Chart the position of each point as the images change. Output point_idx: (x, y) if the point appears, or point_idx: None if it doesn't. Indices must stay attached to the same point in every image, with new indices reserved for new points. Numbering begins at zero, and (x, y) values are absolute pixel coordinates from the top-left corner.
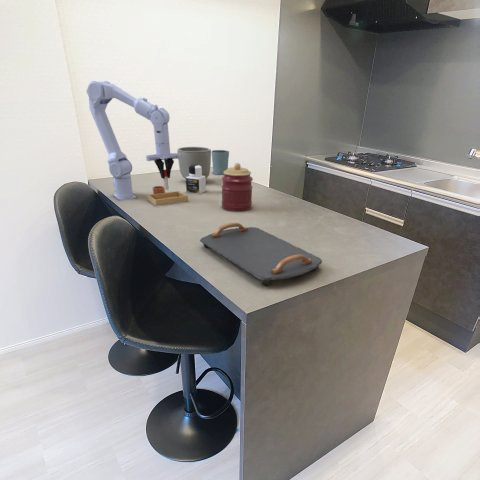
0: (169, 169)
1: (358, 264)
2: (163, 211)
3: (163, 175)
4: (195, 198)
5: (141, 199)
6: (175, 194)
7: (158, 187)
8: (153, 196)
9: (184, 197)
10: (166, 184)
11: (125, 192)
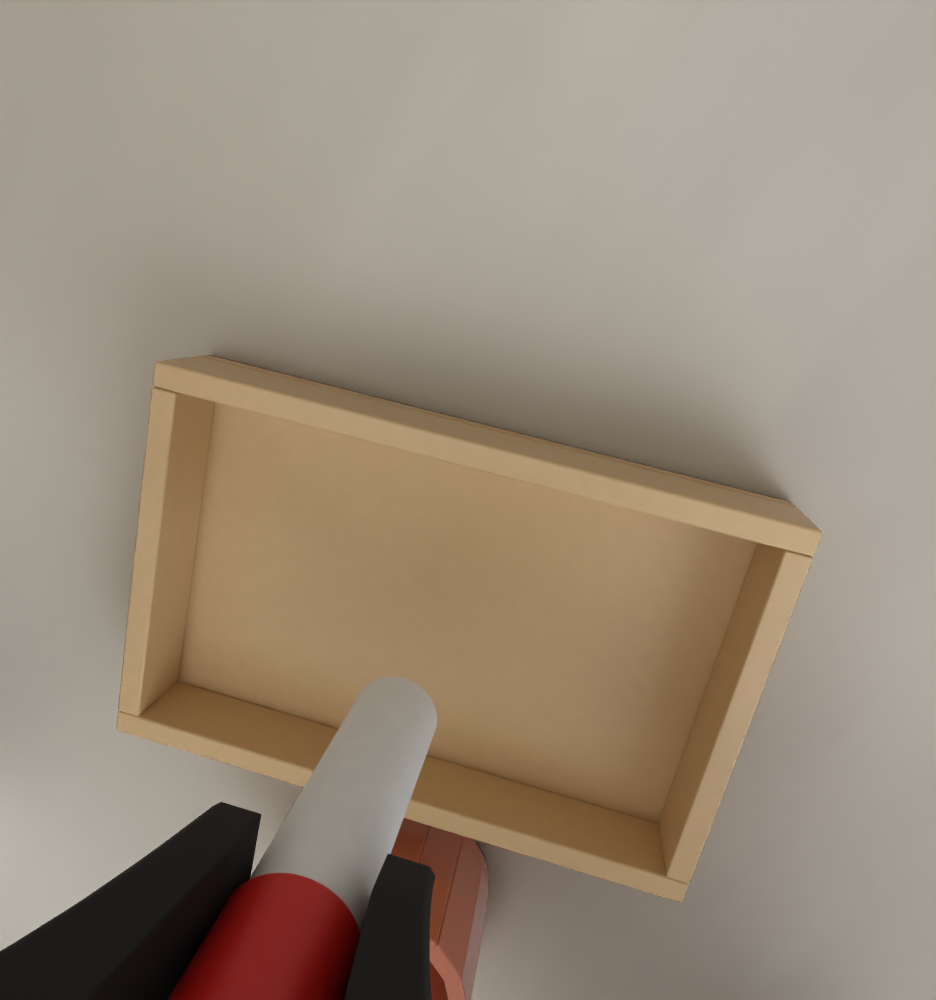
0: (51, 991)
1: None
2: (915, 142)
3: (401, 921)
4: (8, 437)
5: (695, 951)
6: (206, 708)
7: None
8: (586, 830)
9: (227, 373)
10: (383, 744)
11: None
